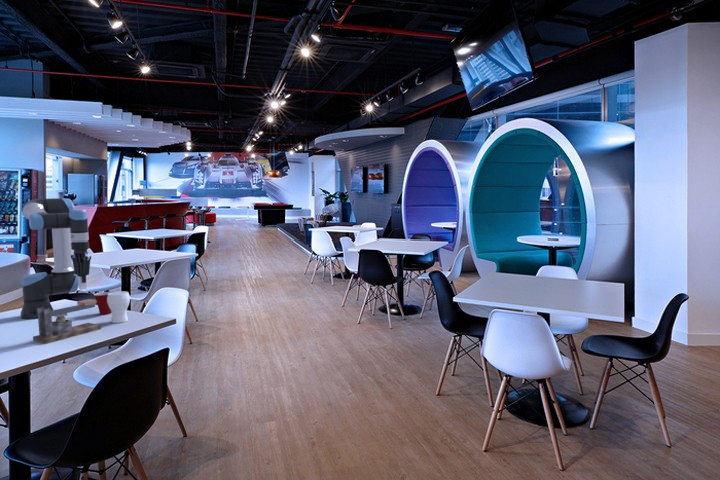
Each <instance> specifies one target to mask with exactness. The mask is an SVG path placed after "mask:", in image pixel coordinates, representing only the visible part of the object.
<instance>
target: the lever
mask: <svg viewBox="0 0 720 480" xmlns="http://www.w3.org/2000/svg"><path fill="white" fill-rule="evenodd" d="M76 303H77V304H76V305H72V306H68V307H67V306H66V307H62V308H58V309H53V310H52V311H51V316H52V317H56V318H57V317H62V316H64V317H66V316H68V314H69V313H74V312H79V311H83V310H86V309H93V308H95V307H96V304H97V300H96V299H91V298H88V299H83V300H78V301H76ZM43 317H44V312H43Z"/></svg>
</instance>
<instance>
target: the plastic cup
mask: <svg viewBox="0 0 720 480" xmlns="http://www.w3.org/2000/svg"><path fill="white" fill-rule="evenodd" d="M112 292H113V291H105V292H97V293H94V294H93V296H94V298H95V300H97V303H96V304H97V309H98V312H99V314H100V315H101V316H102V315H103V316H105V314H106V315H110V313H111V314H112V311H111V309H110V308H109V306H108V303H107V297H108V294H109V293H112Z"/></svg>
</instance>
